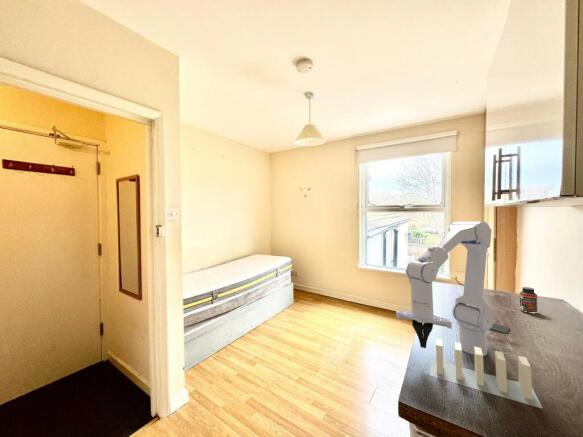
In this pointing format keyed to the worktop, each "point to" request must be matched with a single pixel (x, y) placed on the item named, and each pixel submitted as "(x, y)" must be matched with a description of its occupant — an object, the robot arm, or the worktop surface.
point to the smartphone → (500, 329)
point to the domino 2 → (479, 366)
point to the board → (489, 383)
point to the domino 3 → (501, 371)
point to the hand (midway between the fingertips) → (423, 346)
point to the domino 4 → (525, 377)
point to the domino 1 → (458, 361)
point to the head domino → (439, 355)
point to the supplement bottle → (528, 300)
